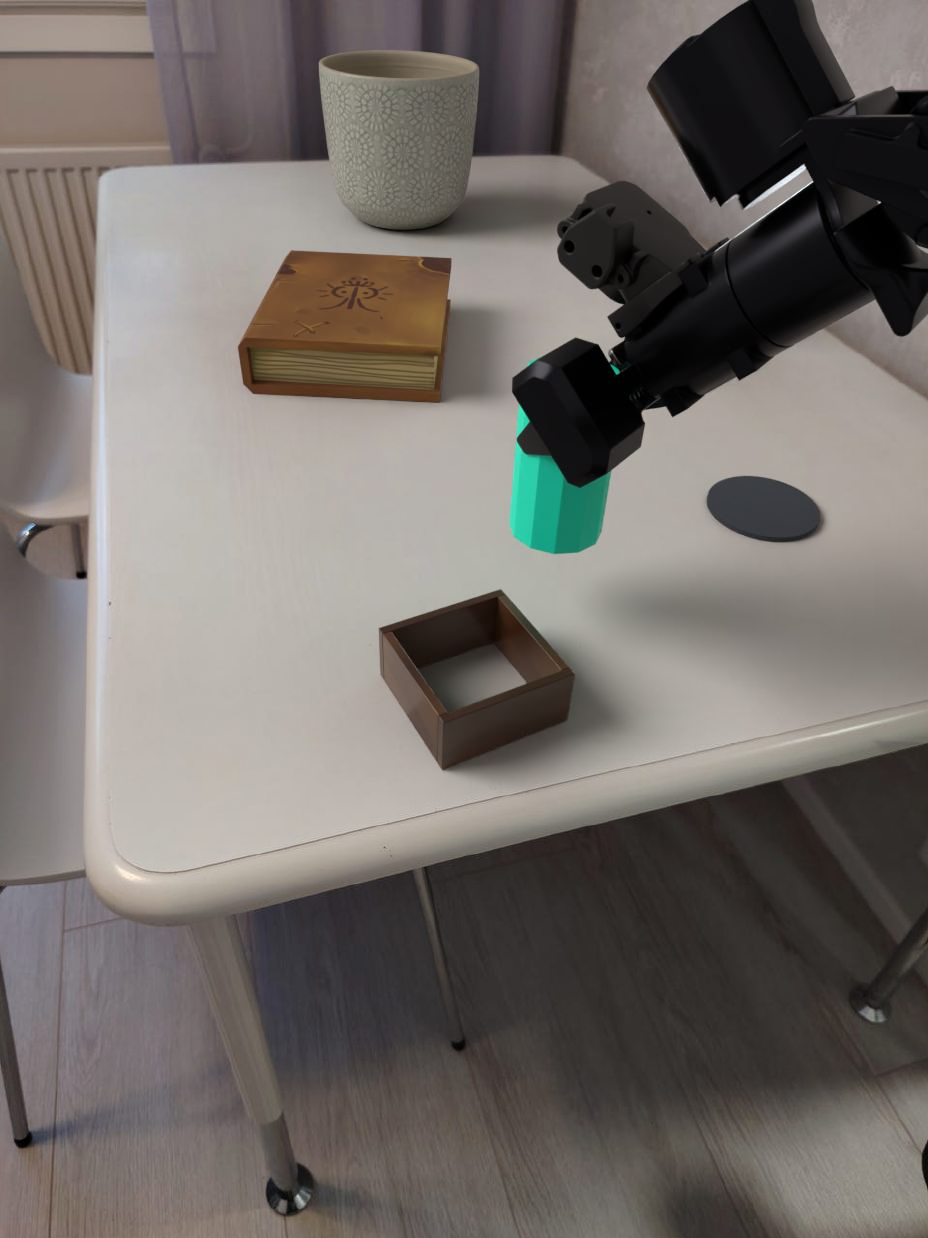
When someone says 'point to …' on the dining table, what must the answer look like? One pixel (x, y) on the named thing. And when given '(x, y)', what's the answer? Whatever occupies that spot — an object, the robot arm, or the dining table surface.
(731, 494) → the coaster
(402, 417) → the dining table surface
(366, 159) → the planter
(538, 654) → the holder
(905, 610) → the dining table surface
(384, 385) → the diary
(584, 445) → the robot arm
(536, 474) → the candle
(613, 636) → the dining table surface
